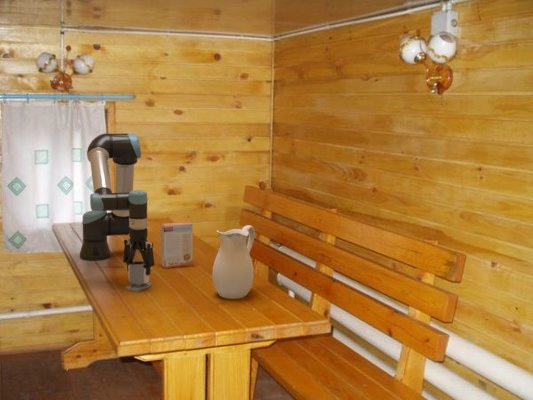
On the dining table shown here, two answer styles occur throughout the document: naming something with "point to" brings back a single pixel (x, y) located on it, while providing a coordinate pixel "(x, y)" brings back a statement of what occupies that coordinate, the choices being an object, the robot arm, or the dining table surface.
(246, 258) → the pitcher
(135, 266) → the tube
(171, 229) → the cracker box
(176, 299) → the dining table surface
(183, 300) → the dining table surface
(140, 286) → the shaft stand
